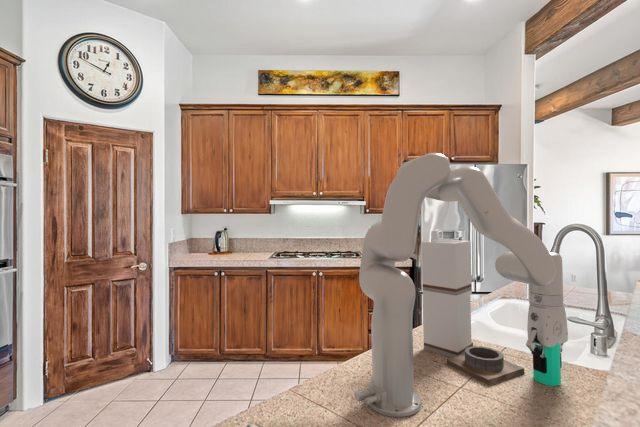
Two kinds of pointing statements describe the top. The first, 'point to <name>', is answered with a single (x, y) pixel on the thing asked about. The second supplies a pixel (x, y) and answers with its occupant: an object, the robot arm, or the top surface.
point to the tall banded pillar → (447, 296)
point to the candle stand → (485, 365)
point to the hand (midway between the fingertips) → (547, 368)
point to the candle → (550, 367)
